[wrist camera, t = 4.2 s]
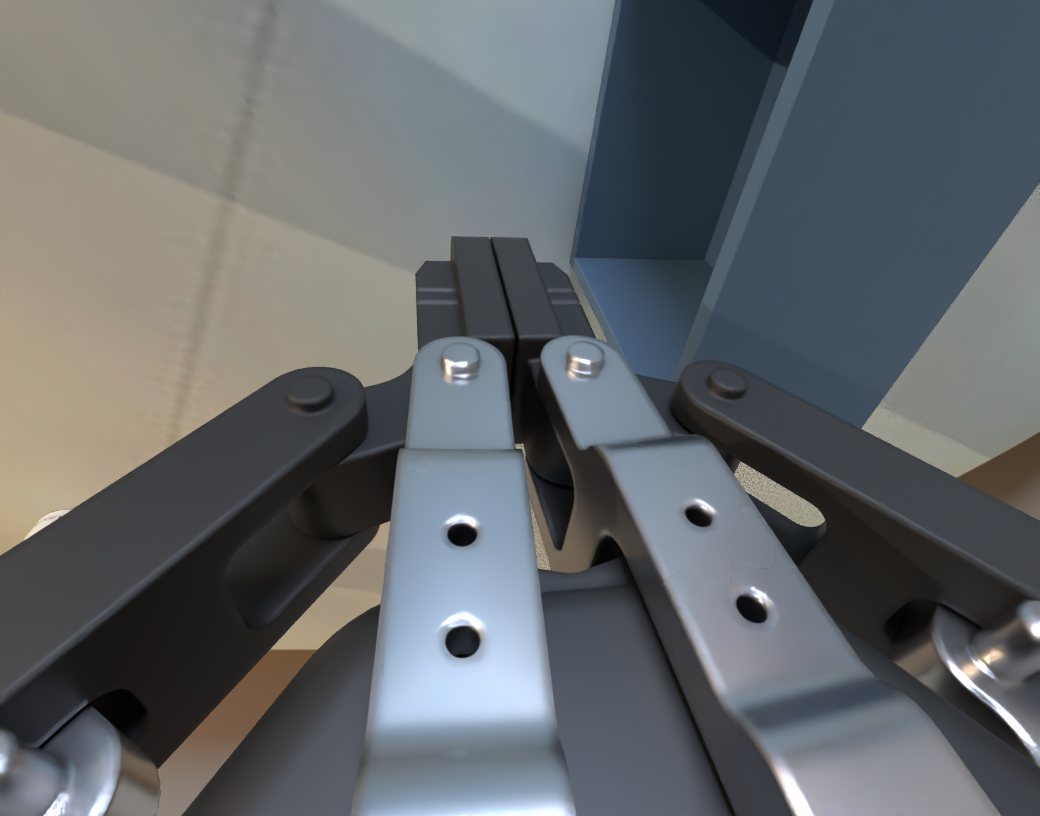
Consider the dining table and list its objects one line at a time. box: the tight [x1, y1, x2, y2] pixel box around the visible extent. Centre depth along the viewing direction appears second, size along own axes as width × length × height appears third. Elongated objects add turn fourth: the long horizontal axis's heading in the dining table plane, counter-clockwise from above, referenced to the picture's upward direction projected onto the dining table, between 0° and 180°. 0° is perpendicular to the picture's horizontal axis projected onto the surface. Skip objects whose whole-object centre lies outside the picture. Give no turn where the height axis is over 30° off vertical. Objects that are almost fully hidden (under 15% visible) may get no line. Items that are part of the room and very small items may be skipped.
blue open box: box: [570, 0, 1040, 429], centre depth 18 cm, size 7×12×12 cm, turn 174°
